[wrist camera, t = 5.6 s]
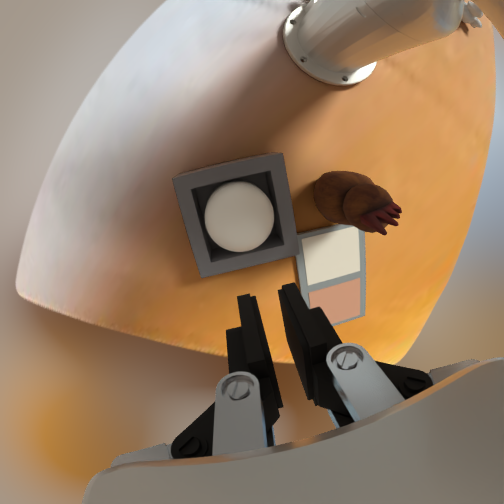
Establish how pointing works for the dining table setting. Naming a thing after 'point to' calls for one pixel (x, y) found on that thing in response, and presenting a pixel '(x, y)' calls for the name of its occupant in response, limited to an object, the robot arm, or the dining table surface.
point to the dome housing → (195, 199)
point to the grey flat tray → (333, 271)
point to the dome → (238, 215)
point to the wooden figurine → (355, 201)
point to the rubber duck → (472, 14)
